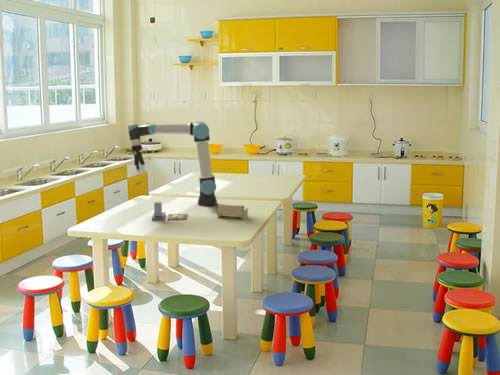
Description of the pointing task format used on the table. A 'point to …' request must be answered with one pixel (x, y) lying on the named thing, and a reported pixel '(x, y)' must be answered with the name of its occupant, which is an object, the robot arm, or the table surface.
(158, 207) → the brick
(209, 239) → the table surface
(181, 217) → the walnut pad
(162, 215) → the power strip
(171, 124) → the robot arm
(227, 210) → the toy sofa
